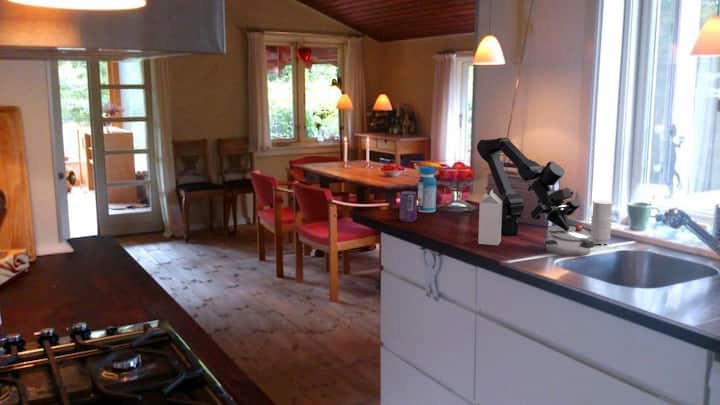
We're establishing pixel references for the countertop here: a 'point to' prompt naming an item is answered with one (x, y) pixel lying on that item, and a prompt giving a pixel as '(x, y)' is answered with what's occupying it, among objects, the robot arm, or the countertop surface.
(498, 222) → the milk carton
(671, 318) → the countertop surface
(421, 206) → the beverage bottle
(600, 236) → the white cylinder
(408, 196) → the beverage can
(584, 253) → the cooker pot
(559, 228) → the cooker lid
